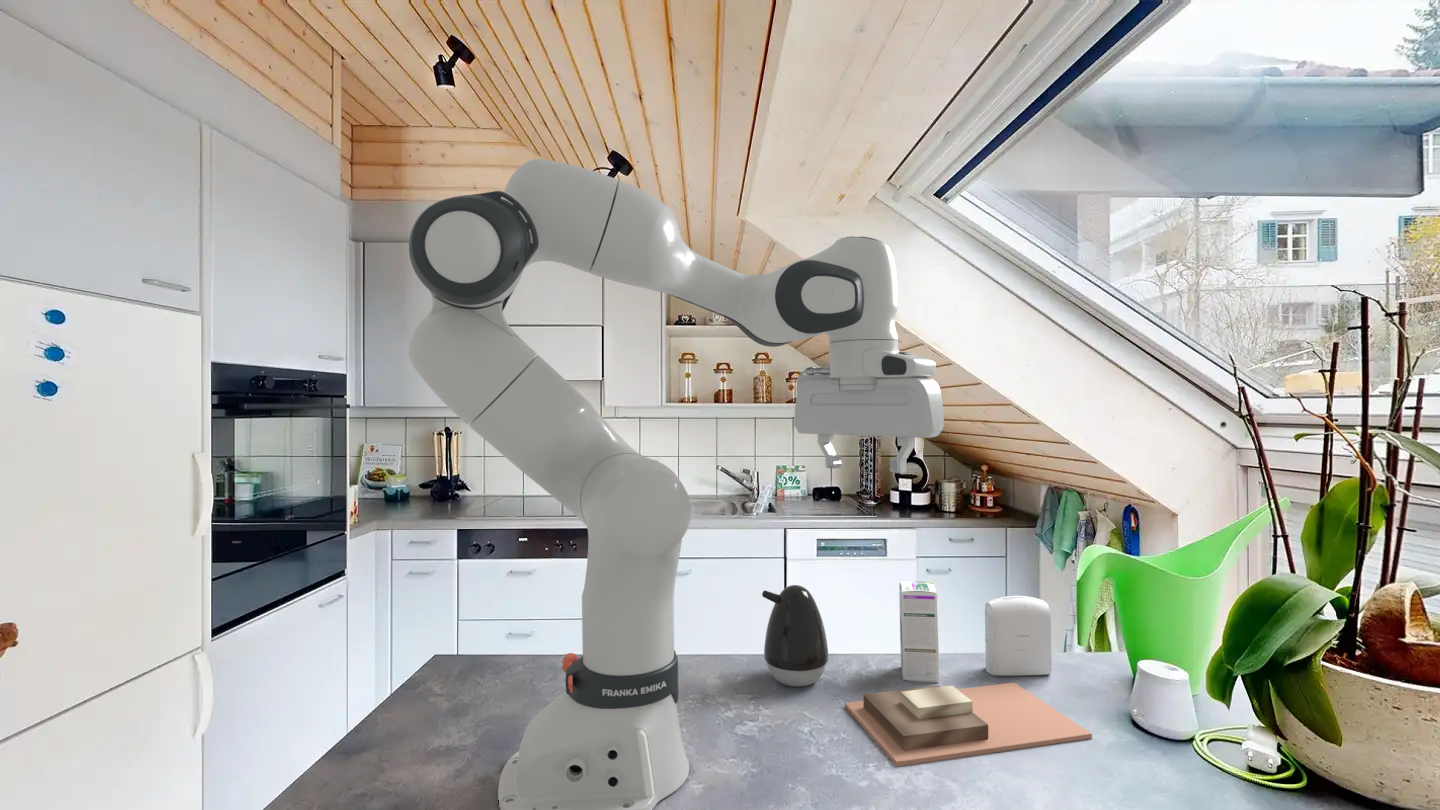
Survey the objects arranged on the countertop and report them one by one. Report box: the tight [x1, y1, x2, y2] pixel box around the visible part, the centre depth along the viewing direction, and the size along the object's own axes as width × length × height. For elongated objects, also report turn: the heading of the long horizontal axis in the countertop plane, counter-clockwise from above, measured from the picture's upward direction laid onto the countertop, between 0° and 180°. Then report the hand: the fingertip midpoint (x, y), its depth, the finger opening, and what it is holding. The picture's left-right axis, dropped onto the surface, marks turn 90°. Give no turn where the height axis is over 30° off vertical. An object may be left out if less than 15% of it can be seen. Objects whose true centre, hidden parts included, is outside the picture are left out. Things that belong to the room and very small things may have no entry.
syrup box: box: [898, 580, 940, 683], centre depth 109 cm, size 6×6×14 cm
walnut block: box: [863, 685, 988, 751], centre depth 92 cm, size 12×12×2 cm
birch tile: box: [901, 685, 973, 719], centre depth 92 cm, size 8×5×2 cm, turn 102°
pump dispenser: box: [761, 584, 829, 688], centre depth 107 cm, size 10×10×15 cm
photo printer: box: [984, 595, 1052, 677], centre depth 109 cm, size 10×4×12 cm, turn 89°
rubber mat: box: [844, 682, 1093, 767], centre depth 93 cm, size 28×16×1 cm, turn 102°
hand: (864, 470), depth 88 cm, fingers open, 8 cm apart
